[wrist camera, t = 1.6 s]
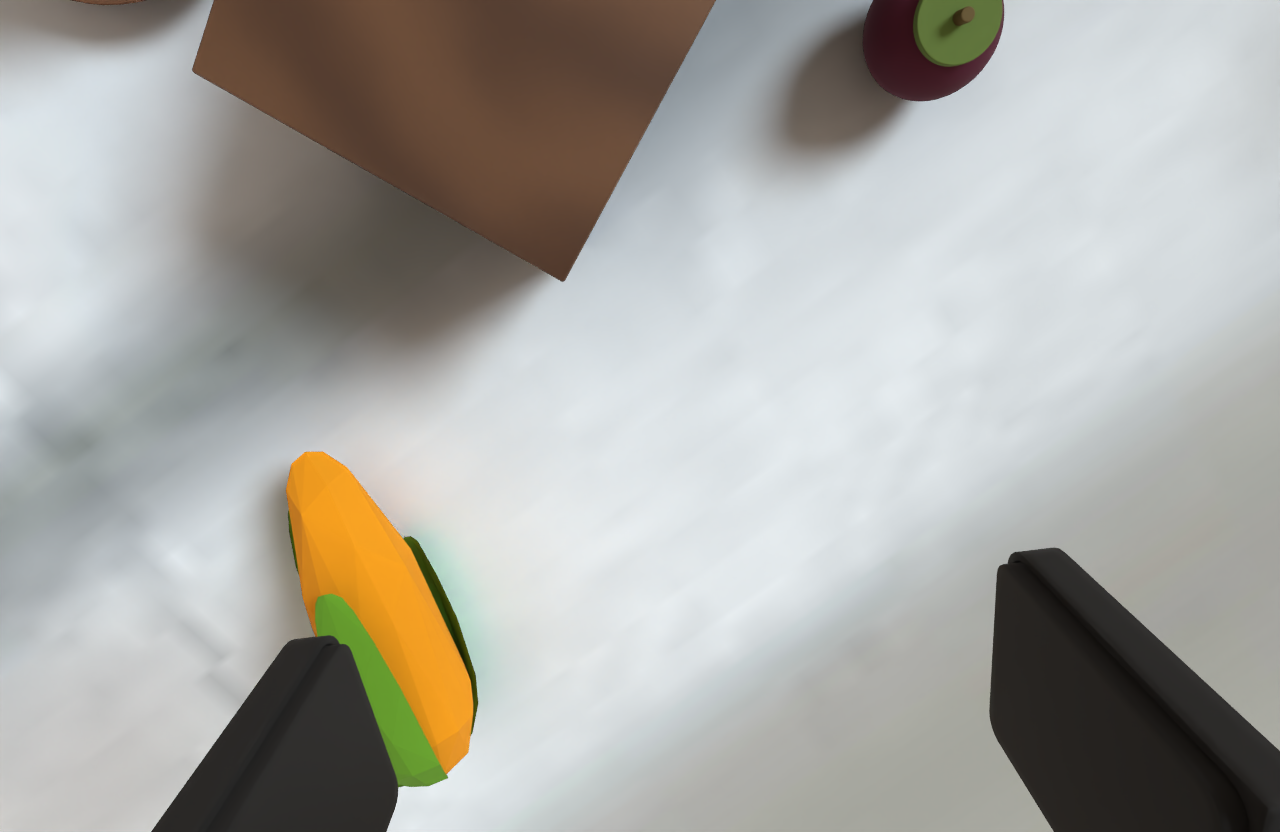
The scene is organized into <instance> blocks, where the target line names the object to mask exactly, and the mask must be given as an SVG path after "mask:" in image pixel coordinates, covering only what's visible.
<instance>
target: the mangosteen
mask: <svg viewBox="0 0 1280 832" xmlns="http://www.w3.org/2000/svg"><path fill="white" fill-rule="evenodd" d="M1003 21H1004V3H1003V0H873V2H872V4H871V6H870V9H869V11H868V14H867V17H866V20H865V24H864V30H863V51H864V56H865V60H866V63H867V66H868V69H869V71H870V73H871V75H872V76H873V78H874V79H875V81H876V82H877V83H878V84H879V85H880V86H881V87H882V88H883V89H885V90H886V91H887V92H889V93H891V94H892V95H894V96H897V97H899V98H902V99H905V100H910V101H930V100H935V99H939V98H942V97H945V96H947V95H950V94H952V93H954V92H956V91H958V90H959V89H961V88H962V87H964V86H965V85H967V84H968V83H969V82H970V81H971V80H973V79H974V78H975V77H976V76H977V75H978V74H979V73H980V72H981V71H982V69H983V68H984V67H985V65H986V64H987V63H988V61H989V60H990V58H991V56H992V55H993V53H994V51H995V49H996V47H997V45H998V42H999V39H1000V36H1001V33H1002V28H1003Z"/></svg>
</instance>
